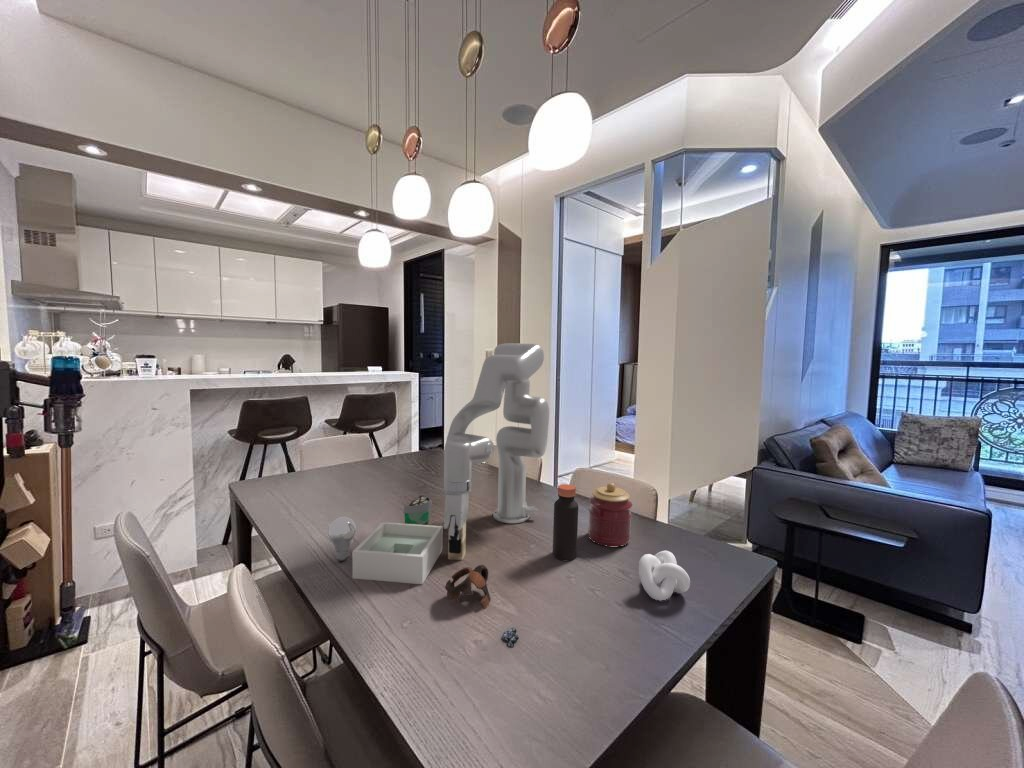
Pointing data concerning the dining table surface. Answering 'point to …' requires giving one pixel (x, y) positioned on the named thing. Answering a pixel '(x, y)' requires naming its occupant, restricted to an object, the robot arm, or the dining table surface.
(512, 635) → the blueberries
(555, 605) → the dining table surface
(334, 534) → the light bulb
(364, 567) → the open box
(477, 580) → the brown looped sculpture
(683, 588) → the white knot sculpture
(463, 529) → the maple peg
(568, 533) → the bottle
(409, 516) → the food container
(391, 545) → the bore plate
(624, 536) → the canister
